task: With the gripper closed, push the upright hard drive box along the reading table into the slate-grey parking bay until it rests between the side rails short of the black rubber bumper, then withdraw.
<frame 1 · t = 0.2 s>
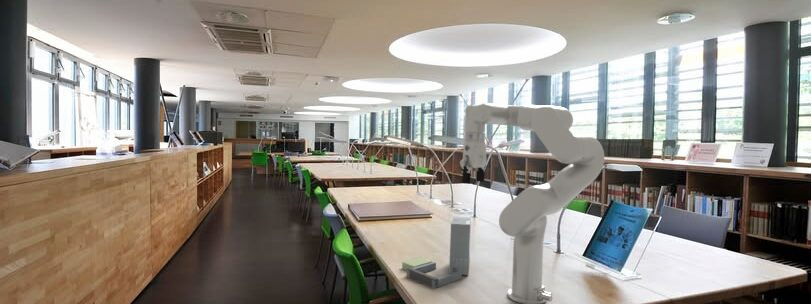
hand: (473, 182, 145), 36 cm above the table, tool pointing down, fingers open, 9 cm apart
olive book: (417, 268, 155), on the table
parking bay: (434, 277, 145), on the table
hard drive box: (460, 269, 155), on the table
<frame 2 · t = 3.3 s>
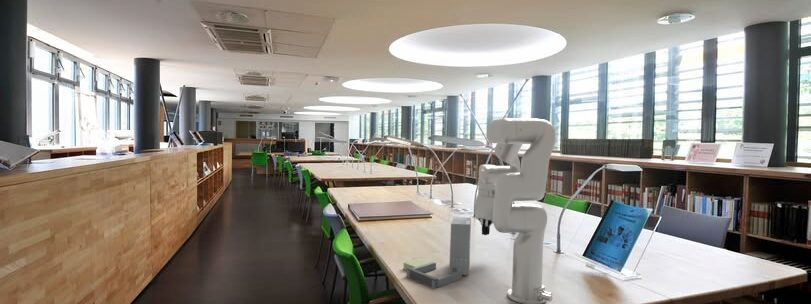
hand: (485, 234, 166), 11 cm above the table, tool pointing down, fingers closed
nothing on the table moved.
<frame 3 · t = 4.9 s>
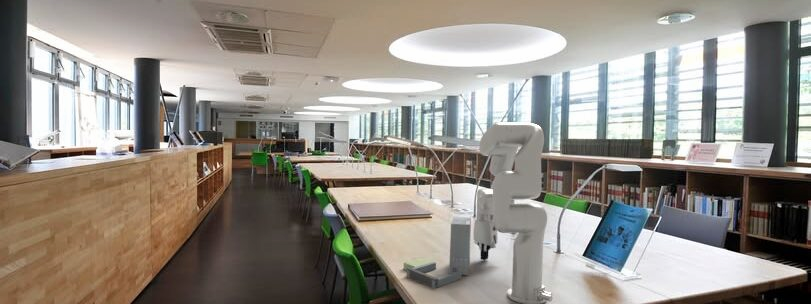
hand: (484, 259, 166), 1 cm above the table, tool pointing down, fingers closed
nothing on the table moved.
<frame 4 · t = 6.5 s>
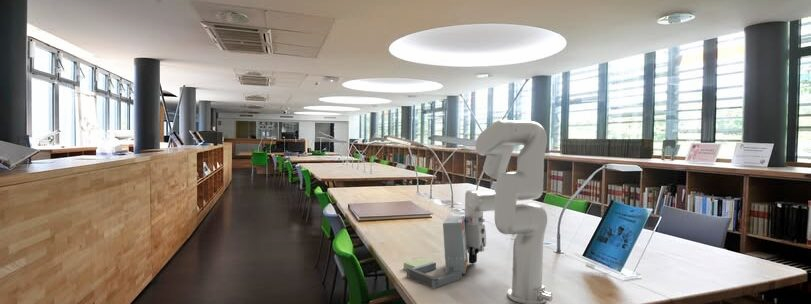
hand: (472, 262, 160), 1 cm above the table, tool pointing down, fingers closed
hard drive box: (457, 268, 155), on the table
everything else where it was.
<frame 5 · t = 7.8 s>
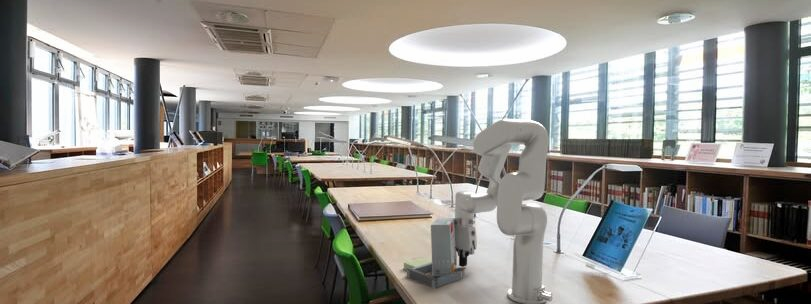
hand: (462, 265, 156), 1 cm above the table, tool pointing down, fingers closed
olive book: (418, 269, 155), on the table, touching parking bay
hard drive box: (445, 271, 152), on the table, touching arm, gripper
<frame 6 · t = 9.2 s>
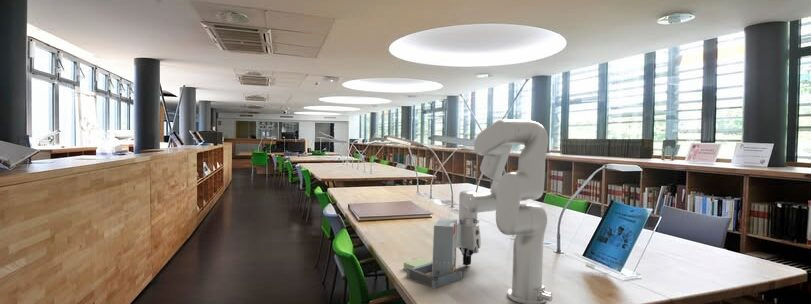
hand: (466, 264, 158), 1 cm above the table, tool pointing down, fingers closed
olive book: (418, 269, 155), on the table
hard drive box: (444, 272, 151), on the table
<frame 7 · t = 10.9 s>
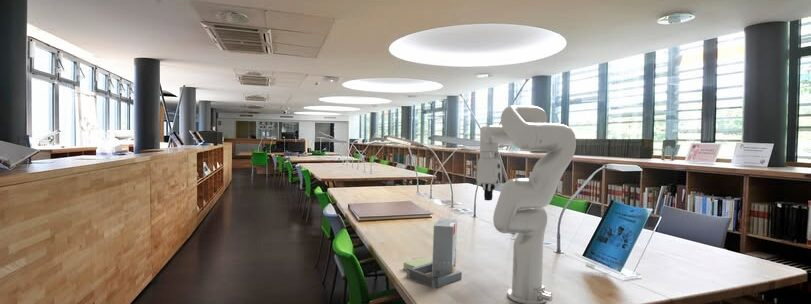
hand: (488, 199, 158), 28 cm above the table, tool pointing down, fingers closed
nothing on the table moved.
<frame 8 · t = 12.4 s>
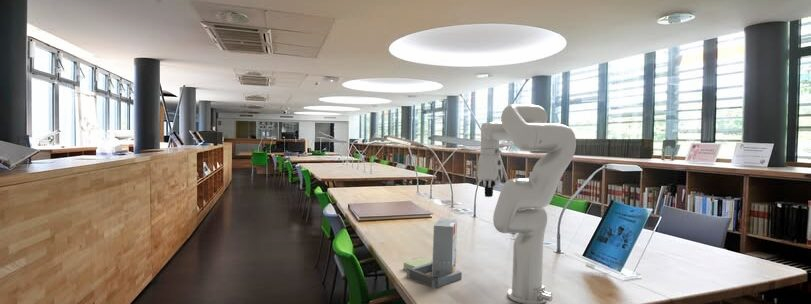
hand: (488, 196, 158), 29 cm above the table, tool pointing down, fingers closed
nothing on the table moved.
at the end: hard drive box inside the target area (3.0 cm from its centre), on the table; hard drive box tilted 0° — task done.
